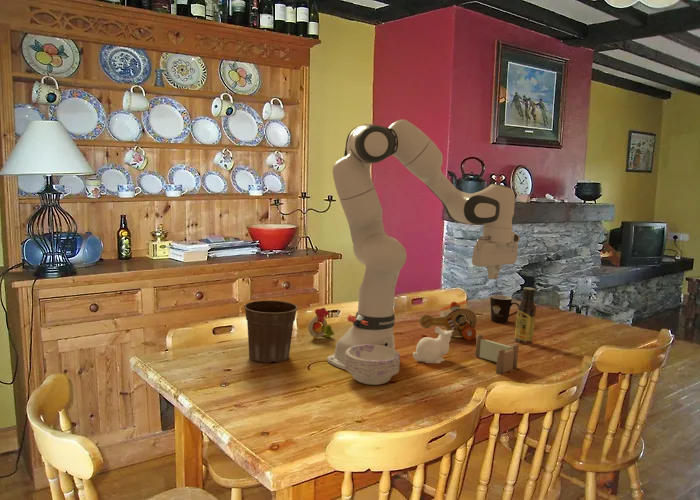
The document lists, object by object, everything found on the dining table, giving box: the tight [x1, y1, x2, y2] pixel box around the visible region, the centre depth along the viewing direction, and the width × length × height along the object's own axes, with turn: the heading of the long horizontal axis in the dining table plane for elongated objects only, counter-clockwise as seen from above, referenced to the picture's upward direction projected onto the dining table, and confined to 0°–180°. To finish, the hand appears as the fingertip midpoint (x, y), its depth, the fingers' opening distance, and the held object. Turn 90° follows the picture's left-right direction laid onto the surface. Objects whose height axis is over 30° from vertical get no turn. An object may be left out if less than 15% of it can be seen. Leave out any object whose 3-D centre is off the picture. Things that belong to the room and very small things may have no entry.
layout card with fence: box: [475, 344, 519, 375], centre depth 177 cm, size 23×18×7 cm
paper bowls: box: [344, 344, 401, 386], centre depth 158 cm, size 15×15×8 cm
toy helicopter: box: [418, 300, 477, 341], centre depth 203 cm, size 8×21×14 cm, turn 97°
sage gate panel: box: [474, 333, 512, 363], centre depth 177 cm, size 12×2×7 cm, turn 44°
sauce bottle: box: [514, 286, 537, 345], centre depth 199 cm, size 6×6×20 cm
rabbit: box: [412, 326, 454, 364], centre depth 174 cm, size 12×9×12 cm
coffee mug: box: [489, 294, 520, 324], centre depth 228 cm, size 12×9×10 cm
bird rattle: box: [307, 307, 335, 340], centre depth 196 cm, size 6×11×9 cm
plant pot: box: [243, 299, 299, 364], centre depth 173 cm, size 16×16×16 cm
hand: (492, 278), depth 181 cm, fingers closed
